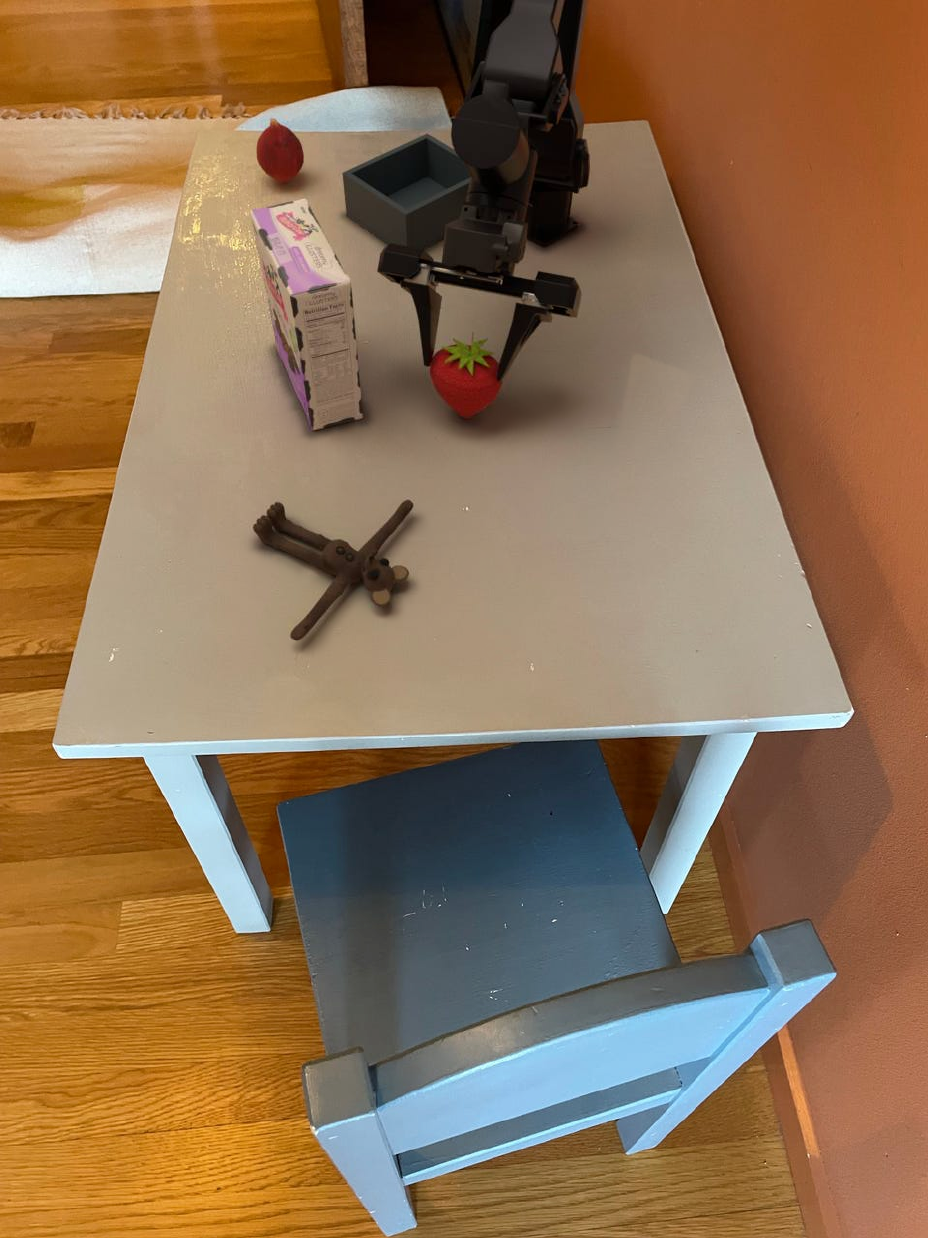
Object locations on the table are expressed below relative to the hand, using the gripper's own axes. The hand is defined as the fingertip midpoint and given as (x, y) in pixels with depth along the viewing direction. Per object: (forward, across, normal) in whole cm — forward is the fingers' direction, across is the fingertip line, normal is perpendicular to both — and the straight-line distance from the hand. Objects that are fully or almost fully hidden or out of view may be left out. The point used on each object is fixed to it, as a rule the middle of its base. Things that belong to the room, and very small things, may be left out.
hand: (462, 373), depth 87 cm
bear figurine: (+19, -6, -10) cm, 23 cm away
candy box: (+4, -16, +6) cm, 18 cm away
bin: (-19, -15, +29) cm, 38 cm away
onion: (-20, -34, +30) cm, 50 cm away
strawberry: (+4, 0, +6) cm, 7 cm away
